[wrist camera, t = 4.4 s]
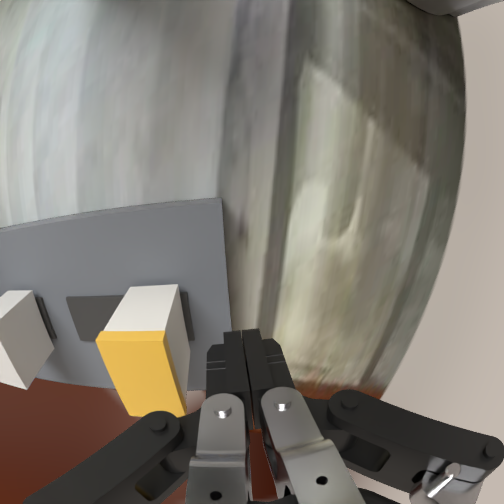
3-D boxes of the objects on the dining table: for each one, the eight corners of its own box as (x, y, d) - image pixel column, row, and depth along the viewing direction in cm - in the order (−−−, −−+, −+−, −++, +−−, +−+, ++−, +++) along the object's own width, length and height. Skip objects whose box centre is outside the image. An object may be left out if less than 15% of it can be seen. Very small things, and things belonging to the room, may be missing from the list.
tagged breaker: (178, 283, 12) (162, 340, 8) (191, 352, 14) (185, 417, 9) (129, 285, 12) (95, 340, 8) (147, 353, 13) (129, 415, 9)
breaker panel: (221, 197, 14) (222, 212, 9) (235, 367, 17) (241, 418, 13) (-56, 242, 11) (-87, 259, 7) (-20, 349, 15) (-41, 374, 10)
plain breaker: (32, 290, 11) (-7, 325, 8) (54, 348, 13) (27, 389, 9) (8, 290, 11) (-29, 322, 7) (29, 345, 12) (2, 382, 9)
